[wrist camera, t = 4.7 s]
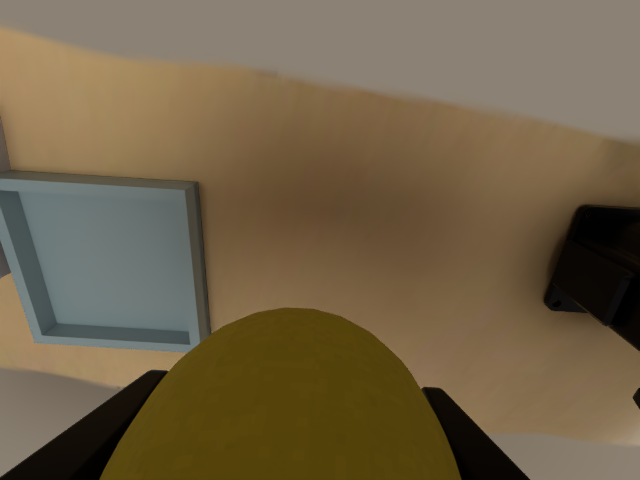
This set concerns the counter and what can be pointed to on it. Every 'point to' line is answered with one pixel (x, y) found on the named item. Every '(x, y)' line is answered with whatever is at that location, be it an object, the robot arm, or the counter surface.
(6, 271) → the charger
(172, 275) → the tray
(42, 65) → the counter surface
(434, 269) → the counter surface
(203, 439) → the lemon
